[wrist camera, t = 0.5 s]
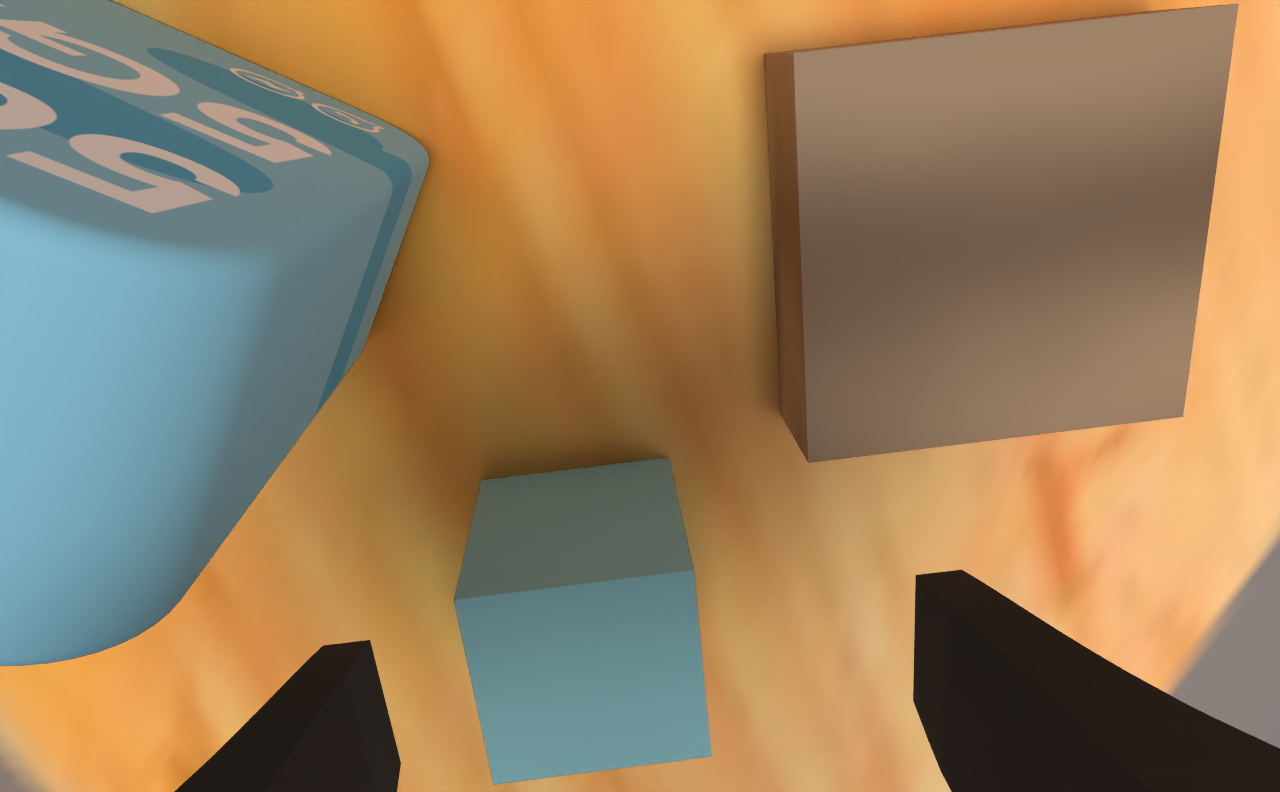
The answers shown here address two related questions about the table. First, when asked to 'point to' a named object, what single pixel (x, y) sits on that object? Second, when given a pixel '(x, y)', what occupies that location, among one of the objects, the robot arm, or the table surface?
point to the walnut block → (992, 227)
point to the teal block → (582, 622)
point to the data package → (164, 304)
